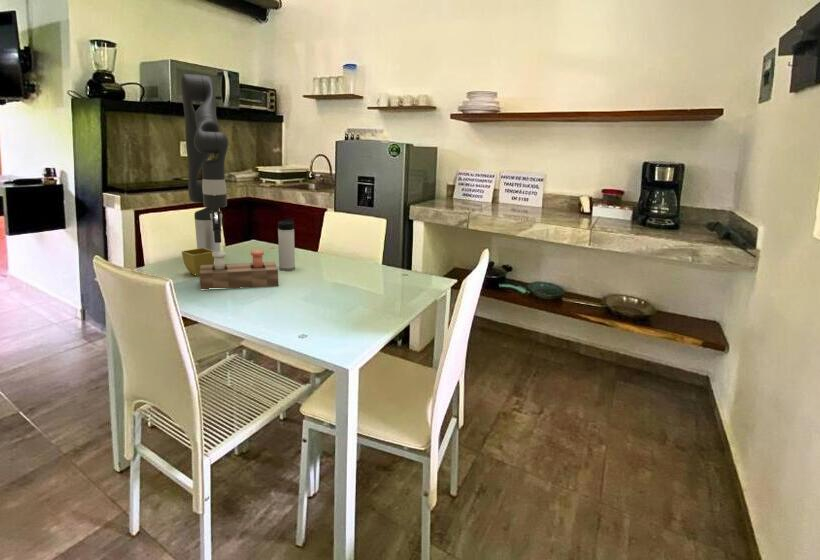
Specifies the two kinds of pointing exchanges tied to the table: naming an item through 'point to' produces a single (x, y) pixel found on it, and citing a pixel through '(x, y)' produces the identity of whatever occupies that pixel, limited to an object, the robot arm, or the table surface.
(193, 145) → the robot arm
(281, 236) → the travel mug
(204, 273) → the block
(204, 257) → the flower pot
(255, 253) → the red plug
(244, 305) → the table surface
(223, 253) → the grey plug
